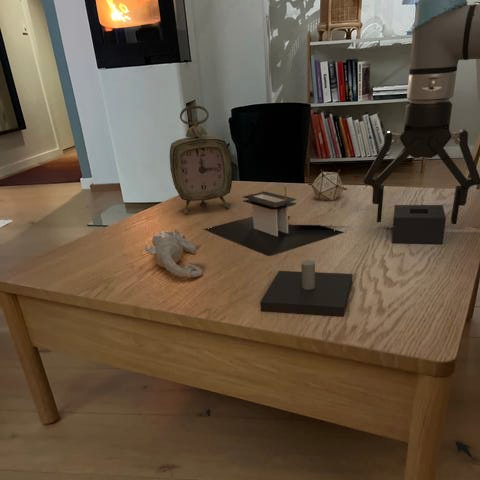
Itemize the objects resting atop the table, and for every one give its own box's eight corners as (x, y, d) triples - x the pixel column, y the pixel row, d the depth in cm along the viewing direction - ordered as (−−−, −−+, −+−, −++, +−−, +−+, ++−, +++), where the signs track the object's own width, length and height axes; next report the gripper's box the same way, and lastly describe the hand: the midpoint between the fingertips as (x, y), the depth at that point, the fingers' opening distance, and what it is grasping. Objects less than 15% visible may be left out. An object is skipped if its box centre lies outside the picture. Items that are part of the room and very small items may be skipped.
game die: (320, 215, 124) (308, 181, 125) (352, 202, 122) (339, 167, 123) (315, 207, 116) (301, 170, 117) (349, 192, 113) (335, 155, 114)
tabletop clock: (179, 217, 119) (164, 109, 108) (175, 209, 127) (160, 107, 116) (235, 209, 122) (226, 103, 110) (228, 202, 130) (218, 101, 118)
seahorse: (228, 265, 84) (185, 224, 98) (169, 259, 78) (132, 217, 92) (220, 291, 86) (179, 247, 101) (161, 287, 80) (127, 241, 94)
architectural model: (272, 211, 118) (270, 170, 113) (344, 232, 99) (345, 184, 94) (203, 229, 109) (198, 185, 104) (268, 255, 90) (265, 204, 85)
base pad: (352, 282, 76) (353, 249, 74) (343, 316, 66) (344, 280, 64) (279, 278, 80) (277, 247, 77) (260, 311, 70) (258, 276, 67)
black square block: (439, 229, 96) (442, 204, 93) (442, 244, 88) (445, 217, 86) (393, 228, 98) (394, 204, 96) (391, 243, 91) (393, 217, 88)
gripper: (353, 106, 82) (347, 225, 92) (514, 99, 75) (489, 229, 85) (357, 102, 89) (351, 214, 99) (506, 95, 81) (483, 217, 91)
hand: (415, 221), depth 92 cm, fingers open, 13 cm apart
